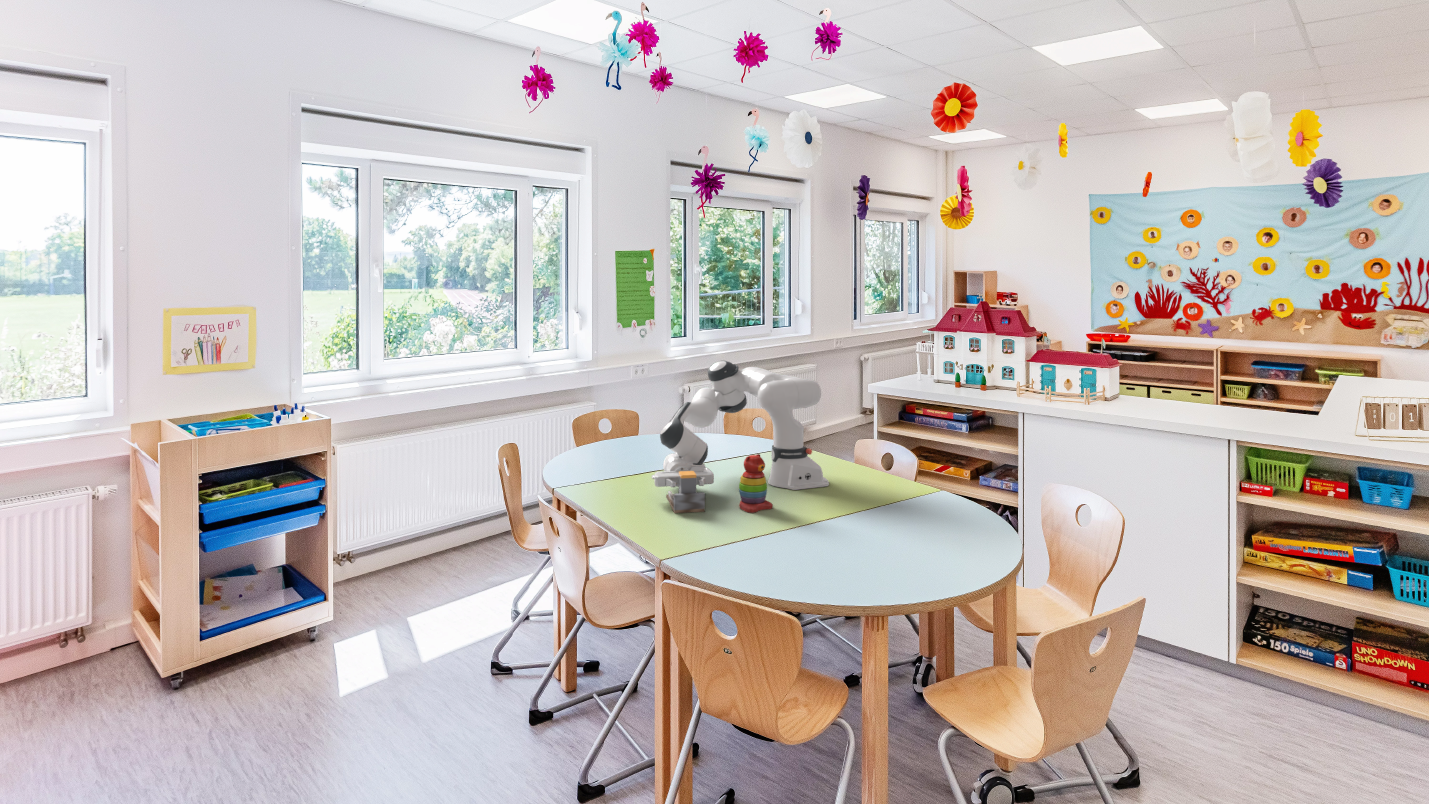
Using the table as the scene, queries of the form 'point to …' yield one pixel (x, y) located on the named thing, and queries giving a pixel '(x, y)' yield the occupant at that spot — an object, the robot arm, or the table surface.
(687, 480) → the grey tall block
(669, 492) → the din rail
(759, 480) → the stacking bear
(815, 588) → the table surface
